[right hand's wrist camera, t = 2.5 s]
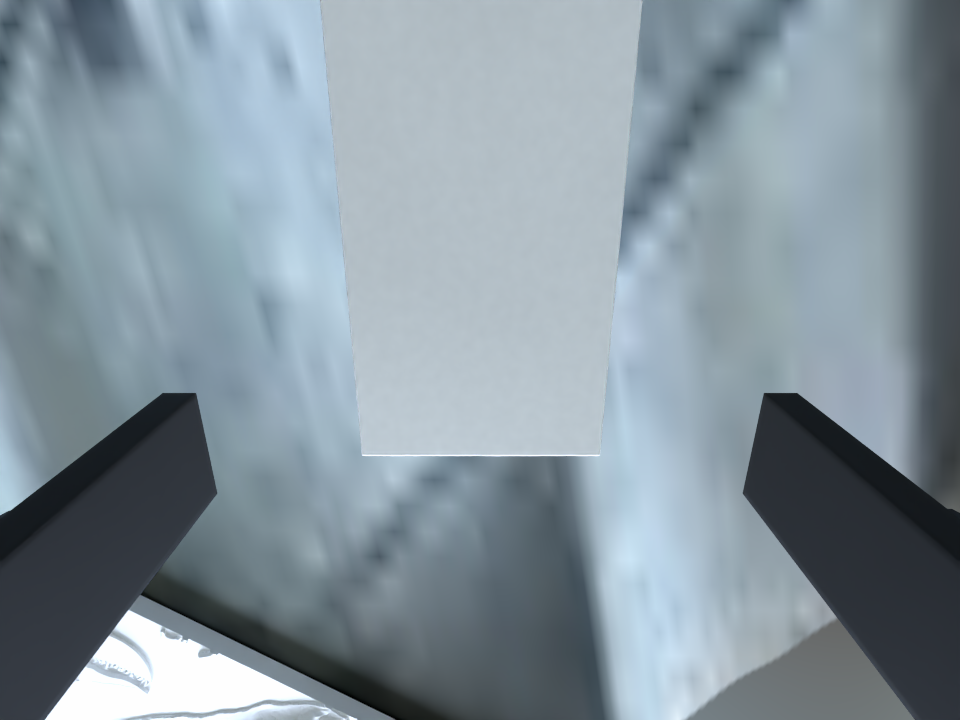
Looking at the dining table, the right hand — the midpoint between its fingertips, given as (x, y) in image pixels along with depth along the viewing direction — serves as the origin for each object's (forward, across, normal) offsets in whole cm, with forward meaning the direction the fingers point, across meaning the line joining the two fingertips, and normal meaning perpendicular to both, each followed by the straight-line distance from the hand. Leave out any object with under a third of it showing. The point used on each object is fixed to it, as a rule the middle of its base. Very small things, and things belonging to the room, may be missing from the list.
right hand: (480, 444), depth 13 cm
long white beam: (+15, 0, -32) cm, 36 cm away
